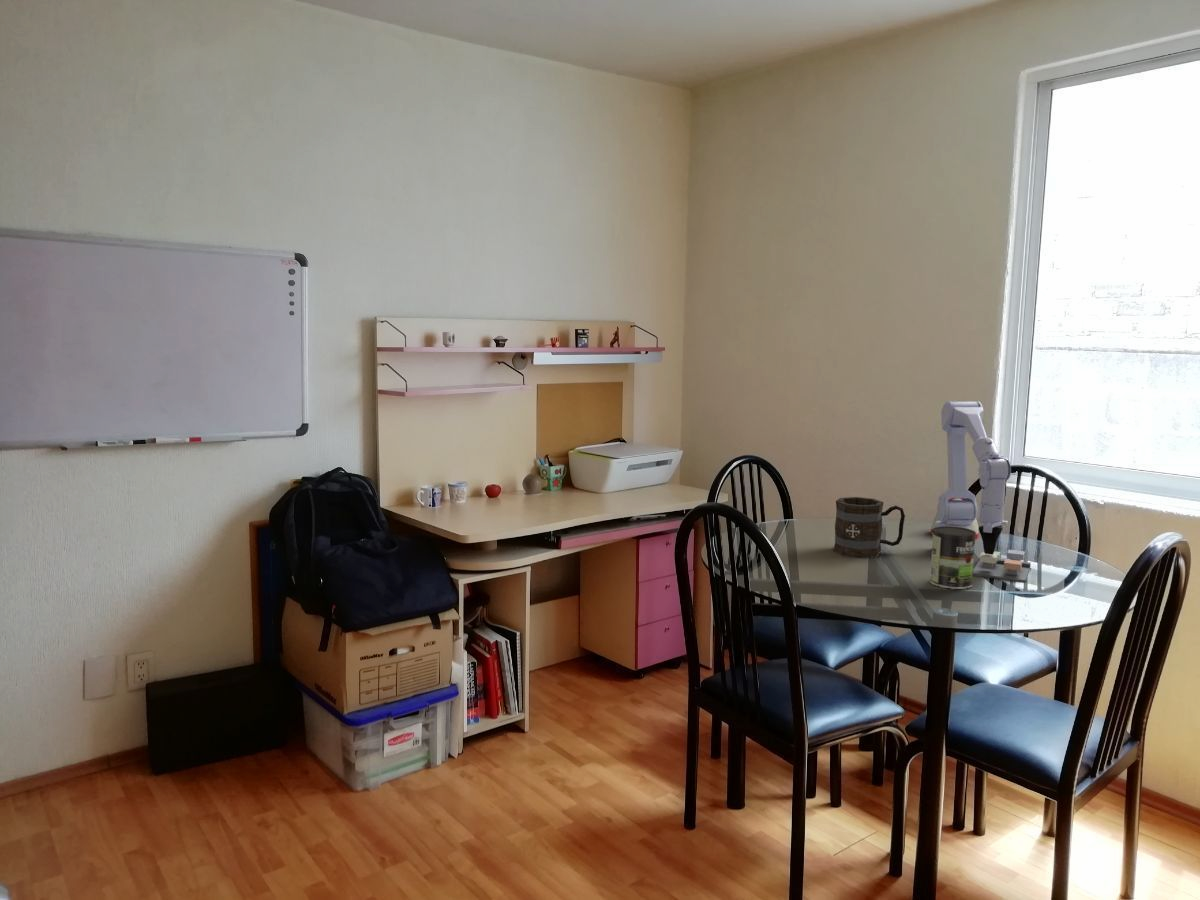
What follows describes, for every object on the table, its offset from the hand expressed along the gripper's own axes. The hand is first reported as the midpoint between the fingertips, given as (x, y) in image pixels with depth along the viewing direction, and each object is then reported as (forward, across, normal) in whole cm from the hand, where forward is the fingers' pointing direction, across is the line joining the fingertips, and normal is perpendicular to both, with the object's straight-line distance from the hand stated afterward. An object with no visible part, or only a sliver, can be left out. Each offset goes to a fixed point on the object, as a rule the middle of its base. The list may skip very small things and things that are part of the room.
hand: (989, 553), depth 241 cm
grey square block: (+4, +7, -6) cm, 10 cm away
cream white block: (+5, +7, 0) cm, 8 cm away
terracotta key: (+5, 0, -6) cm, 8 cm away
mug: (+6, +6, +33) cm, 34 cm away
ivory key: (+4, 0, 0) cm, 4 cm away
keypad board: (+5, +4, -3) cm, 7 cm away
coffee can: (+6, -15, +7) cm, 17 cm away
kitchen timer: (+6, +40, +14) cm, 43 cm away
